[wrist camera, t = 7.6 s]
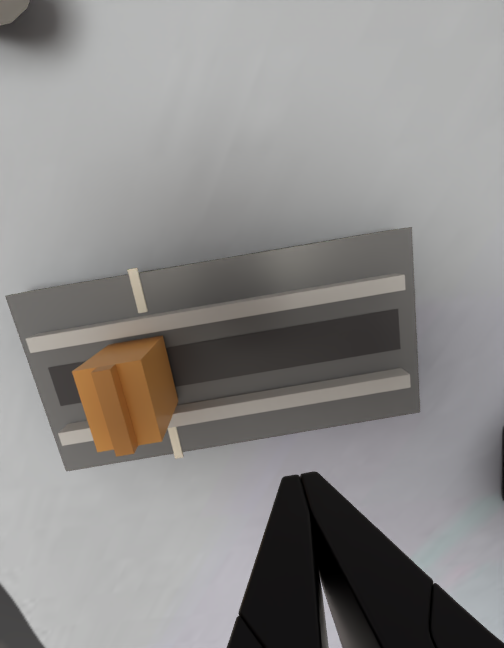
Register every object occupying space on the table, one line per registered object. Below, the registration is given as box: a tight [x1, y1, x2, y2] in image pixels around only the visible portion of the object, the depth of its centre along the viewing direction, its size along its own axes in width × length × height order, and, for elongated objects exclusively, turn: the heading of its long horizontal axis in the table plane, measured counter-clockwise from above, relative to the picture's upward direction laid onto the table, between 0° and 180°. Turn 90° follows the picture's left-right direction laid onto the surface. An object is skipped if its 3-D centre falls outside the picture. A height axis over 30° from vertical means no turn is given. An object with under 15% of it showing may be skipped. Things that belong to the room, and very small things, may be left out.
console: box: [5, 227, 420, 471], centre depth 19 cm, size 12×22×3 cm, turn 99°
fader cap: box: [72, 335, 178, 457], centre depth 16 cm, size 4×3×5 cm
